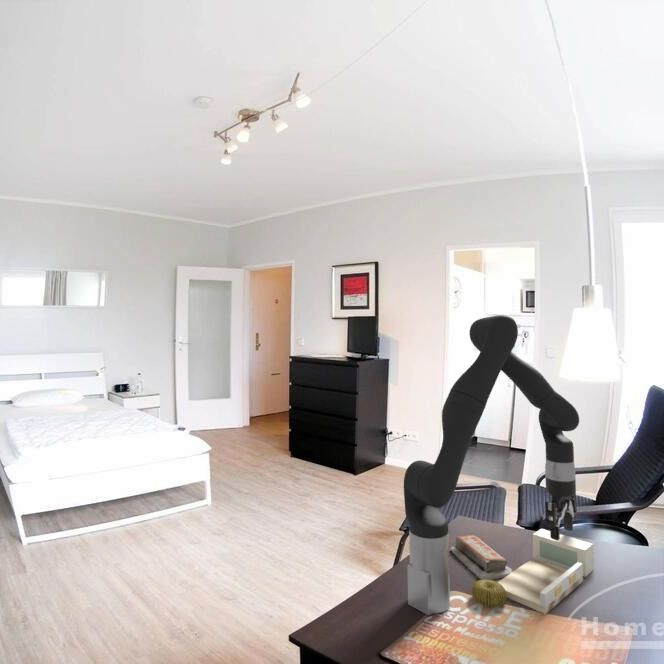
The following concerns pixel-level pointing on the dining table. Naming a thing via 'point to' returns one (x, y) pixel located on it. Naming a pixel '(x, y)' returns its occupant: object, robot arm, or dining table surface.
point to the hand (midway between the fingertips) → (562, 534)
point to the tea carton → (563, 551)
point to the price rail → (561, 584)
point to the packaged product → (480, 558)
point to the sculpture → (489, 593)
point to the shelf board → (534, 584)
